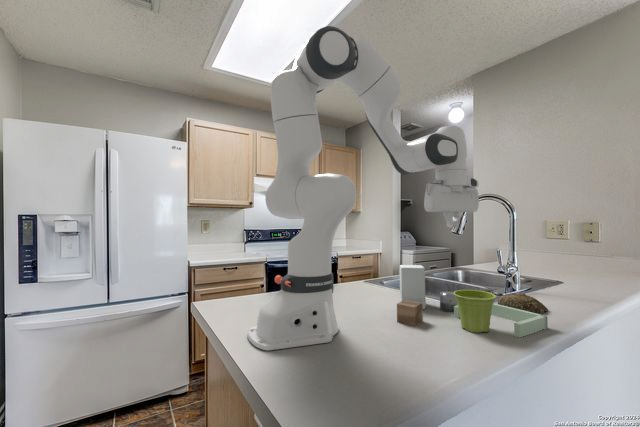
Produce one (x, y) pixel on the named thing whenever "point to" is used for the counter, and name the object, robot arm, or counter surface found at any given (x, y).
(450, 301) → the metal tin
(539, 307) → the bread roll
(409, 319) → the walnut block
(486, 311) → the plant pot
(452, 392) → the counter surface
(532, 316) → the corral
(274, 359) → the counter surface
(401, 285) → the supplement box
